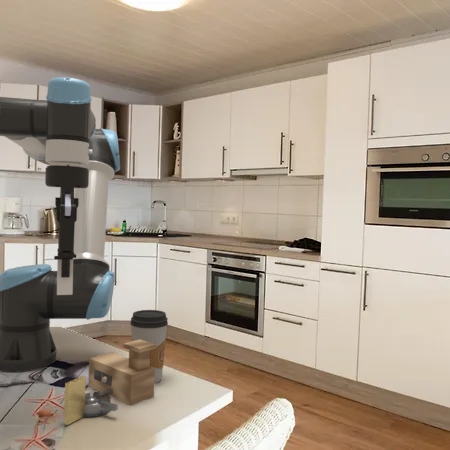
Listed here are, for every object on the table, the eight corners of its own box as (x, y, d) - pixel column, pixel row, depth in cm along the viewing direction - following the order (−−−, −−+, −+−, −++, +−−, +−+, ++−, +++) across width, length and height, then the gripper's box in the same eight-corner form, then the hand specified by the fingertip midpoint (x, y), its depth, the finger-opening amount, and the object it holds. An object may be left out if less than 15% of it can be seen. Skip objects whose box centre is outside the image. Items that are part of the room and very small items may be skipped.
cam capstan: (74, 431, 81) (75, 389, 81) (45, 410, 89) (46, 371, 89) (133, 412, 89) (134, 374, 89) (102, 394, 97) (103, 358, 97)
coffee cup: (158, 388, 102) (161, 319, 101) (122, 384, 103) (124, 316, 103) (170, 375, 110) (173, 311, 109) (137, 371, 112) (139, 308, 111)
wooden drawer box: (84, 387, 101) (85, 337, 100) (112, 378, 106) (113, 330, 106) (126, 407, 92) (127, 352, 92) (154, 396, 98) (156, 344, 97)
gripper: (91, 164, 82) (88, 300, 83) (86, 169, 94) (83, 287, 95) (45, 162, 79) (42, 302, 80) (45, 166, 91) (43, 288, 92)
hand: (64, 293), depth 88 cm, fingers closed
